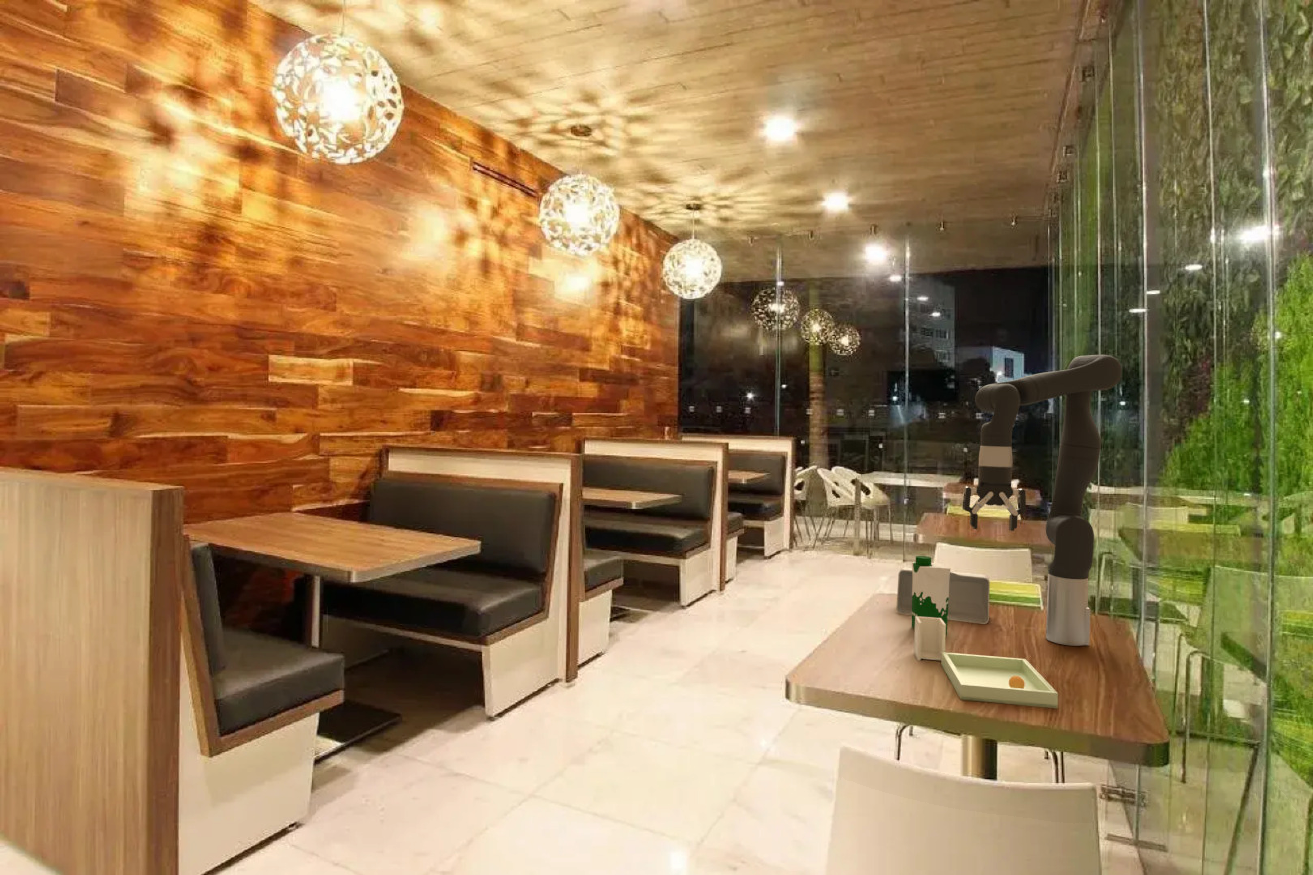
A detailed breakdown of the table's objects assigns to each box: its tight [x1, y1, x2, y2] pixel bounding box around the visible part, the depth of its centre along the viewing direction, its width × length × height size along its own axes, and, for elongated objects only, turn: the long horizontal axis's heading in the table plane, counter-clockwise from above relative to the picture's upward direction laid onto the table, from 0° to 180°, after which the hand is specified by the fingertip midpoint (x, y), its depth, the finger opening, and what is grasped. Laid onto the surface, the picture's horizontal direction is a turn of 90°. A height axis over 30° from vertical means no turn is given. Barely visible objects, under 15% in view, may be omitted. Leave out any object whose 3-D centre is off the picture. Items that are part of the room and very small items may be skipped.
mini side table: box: [913, 616, 947, 662], centre depth 175 cm, size 6×6×9 cm
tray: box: [940, 651, 1059, 709], centre depth 157 cm, size 18×22×3 cm
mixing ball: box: [1009, 676, 1025, 689], centre depth 152 cm, size 3×3×3 cm
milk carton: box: [911, 555, 951, 636], centre depth 199 cm, size 9×9×20 cm
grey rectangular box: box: [896, 566, 991, 625], centre depth 219 cm, size 25×16×12 cm, turn 67°
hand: (993, 529), depth 182 cm, fingers open, 8 cm apart
